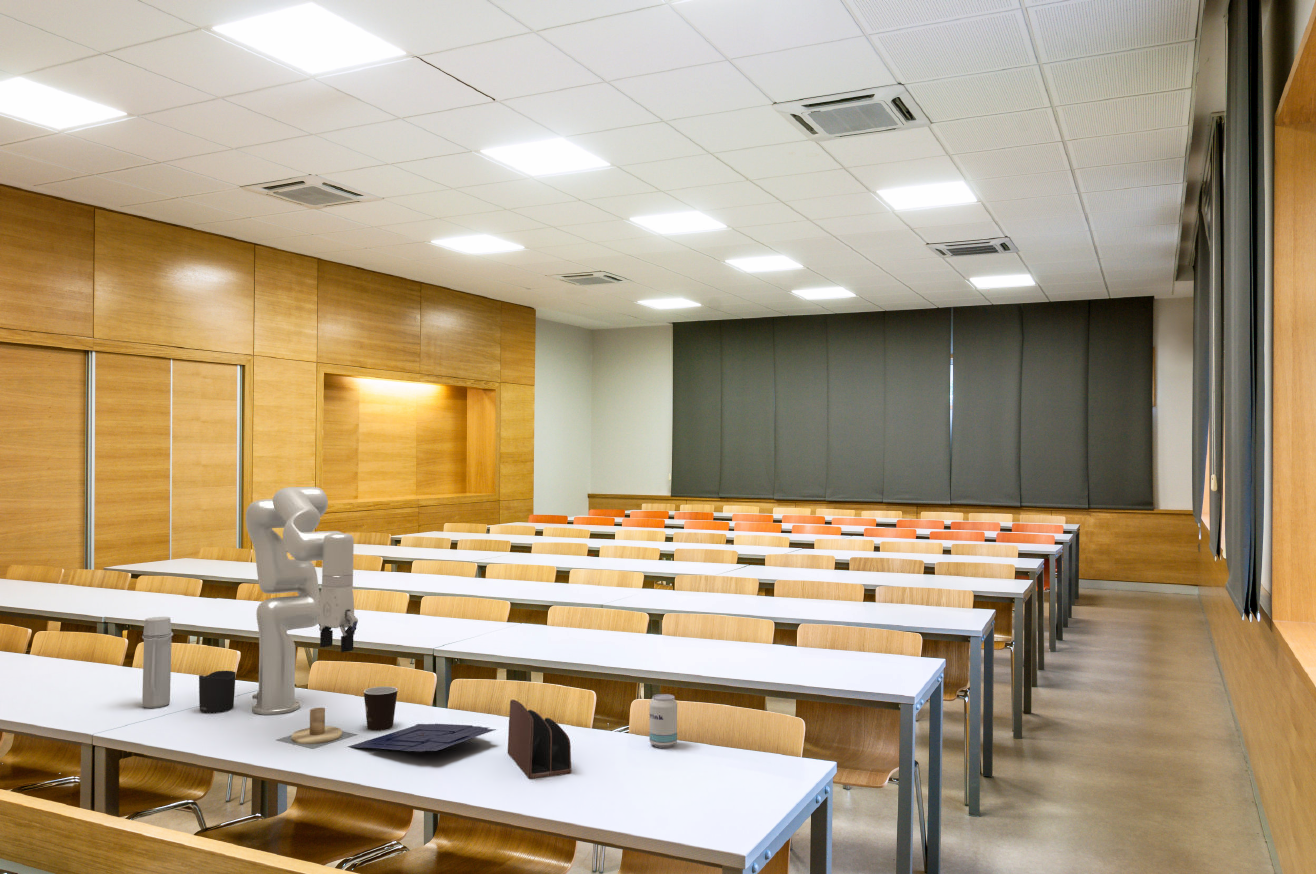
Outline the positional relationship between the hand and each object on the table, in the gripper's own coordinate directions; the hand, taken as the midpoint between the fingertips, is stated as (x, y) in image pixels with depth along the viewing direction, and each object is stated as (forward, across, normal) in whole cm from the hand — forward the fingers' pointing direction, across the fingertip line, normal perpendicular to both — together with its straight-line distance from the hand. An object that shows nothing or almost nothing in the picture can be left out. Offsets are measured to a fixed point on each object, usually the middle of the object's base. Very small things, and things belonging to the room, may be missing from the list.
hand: (336, 648), depth 232 cm
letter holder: (+23, +54, +20) cm, 62 cm away
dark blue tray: (+23, +22, +11) cm, 34 cm away
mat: (+22, -3, -4) cm, 23 cm away
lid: (+22, -3, -4) cm, 23 cm away
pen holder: (+22, -50, -7) cm, 55 cm away
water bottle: (+22, -66, -17) cm, 72 cm away
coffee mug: (+23, +1, +13) cm, 26 cm away
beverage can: (+23, +67, +50) cm, 87 cm away
